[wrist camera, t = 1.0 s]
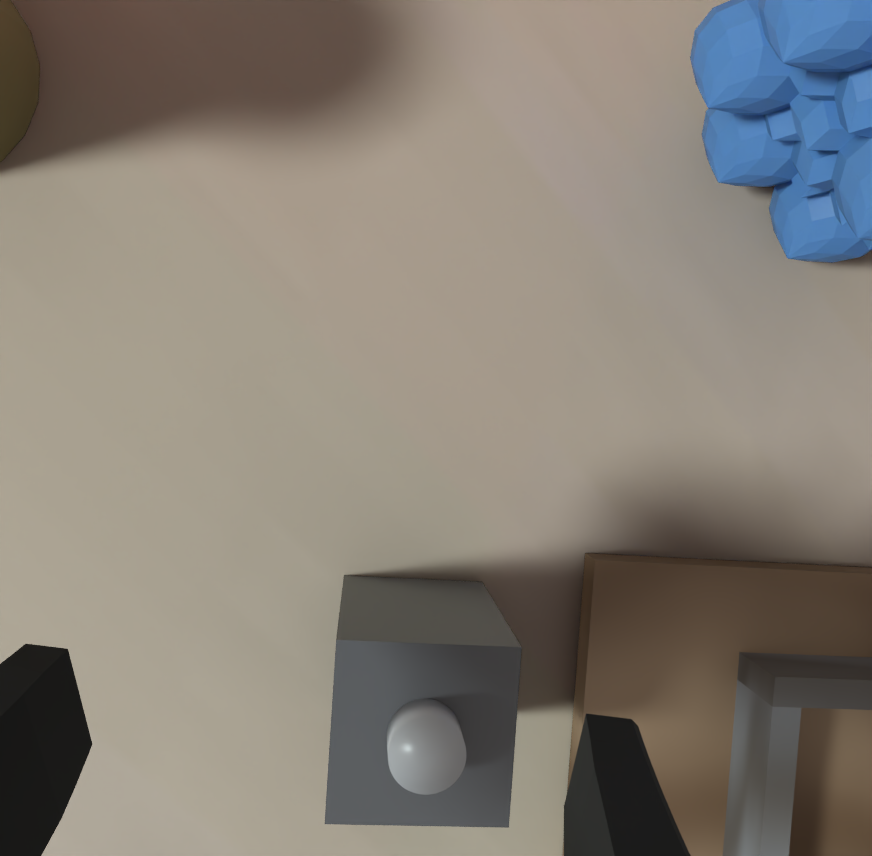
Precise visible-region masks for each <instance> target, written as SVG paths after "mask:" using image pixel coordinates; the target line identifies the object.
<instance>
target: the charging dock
mask: <svg viewBox="0 0 872 856" xmlns="http://www.w3.org/2000/svg"><path fill="white" fill-rule="evenodd" d="M586 713H587V714H595V715H603V716H611V717H619V718H627V719H632V720H633V721H634V722H635V723H636V724H637V725H638V727H639V730H640V733H641V736H642V739H643V742H644V745H645V747H646V750H647V753H648V756H649V758H650V761H651V764H652V766H653V769H654V771H655V774H656V777H657V779H658V782H659V784H660V787H661V789H662V791H663V794H664V796H665V799H666V801H667V803H668V806H669V808H670V810H671V813H672V815H673V817H674V820H675V822H676V824H677V827H678V829H679V831H680V833H681V836H682V838H683V840H684V842H685V845H686V847H687V849H688V851H689V853H690V855H691V856H872V568H871V567H851V566H831V565H811V564H791V563H771V562H751V561H732V560H712V559H692V558H672V557H652V556H632V555H612V554H593V553H585V563H584V576H583V590H582V603H581V616H580V629H579V643H578V656H577V669H576V683H575V696H574V709H573V723H572V736H571V749H570V763H569V776H568V788H569V784H570V779H571V775H572V771H573V766H574V762H575V758H576V754H577V749H578V745H579V741H580V736H581V732H582V728H583V724H584V719H585V715H586ZM567 792H568V789H567ZM563 856H564V842H563Z"/></svg>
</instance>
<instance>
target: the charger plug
mask: <svg viewBox="0 0 872 856" xmlns="http://www.w3.org/2000/svg"><path fill="white" fill-rule="evenodd" d="M521 651H522V647H521V645H520V643H519V642H518V640H517V639H516V637H515V635H514V634H513V632H512V630H511V629H510V627H509V625H508V624H507V622H506V621H505V619H504V617H503V616H502V614H501V612H500V611H499V609H498V607H497V606H496V604H495V603H494V601H493V599H492V598H491V596H490V594H489V593H488V591H487V589H486V588H485V586H484V585H483V583H482V582H478V581H456V580H435V579H413V578H392V577H370V576H349V575H344V580H343V588H342V597H341V605H340V613H339V622H338V630H337V639H336V653H335V669H334V685H333V701H332V717H331V732H330V748H329V764H328V780H327V796H326V812H325V824H350V825H405V826H460V827H509V816H510V802H511V789H512V775H513V761H514V747H515V733H516V720H517V706H518V692H519V678H520V664H521Z"/></svg>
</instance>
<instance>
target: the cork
mask: <svg viewBox="0 0 872 856" xmlns="http://www.w3.org/2000/svg"><path fill="white" fill-rule="evenodd" d="M39 76H40V65H39V61H38V57H37V54H36V50H35V46H34V42H33V39H32V35H31V32H30V30H29V28H28V27H27V25H26V24H25V22H24V21H23V19H22V17H21V16H20V14H19V13H18V11H17V10H16V8H15V6H14V5H13V3H12V2H11V0H0V162H2V161H3V159H4V158H5V157H6V156H7V155H8V154H9V153H10V151H11V150H12V149H13V148H14V147H15V146H16V145H17V143H18V142H19V141H20V140H21V139H22V138H23V136H24V135H25V133H26V131H27V128H28V126H29V124H30V121H31V119H32V116H33V114H34V111H35V109H36V106H37V104H38V94H39Z"/></svg>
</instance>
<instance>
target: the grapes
mask: <svg viewBox="0 0 872 856" xmlns="http://www.w3.org/2000/svg"><path fill="white" fill-rule="evenodd" d="M690 59H691V63H692V68H693V72H694V77H695V81H696V84H697V87H698V89H699V91H700V93H701V95H702V97H703V99H704V101H705V103H706V105H707V107H708V108H709V109H708V110H707V111H706V115H705V120H704V126H703V131H702V137H703V142H704V146H705V151H706V155H707V159H708V161H709V164H710V166H711V168H712V170H713V172H714V175H715V177H716V179H717V181H718V182H719V183H725V184H730V185H735V186H758V187H771V186H774V185H776V186H775V187H774V190H773V194H772V198H771V203H770V207H769V211H770V215H771V220H772V224H773V229H774V232H775V234H776V236H777V238H778V240H779V242H780V244H781V246H782V248H783V250H784V252H785V254H786V256H787V258H788V259H795V260H801V261H812V262H831V263H832V262H837V261H843V260H848V259H853V258H858V257H861V256H864V255H865V254H867V253H868V252H869V251H871V250H872V0H730V1H728V2H725V3H723V4H721V5H718V6H716V7H714V8H712V10H711V11H710V12H709V13H708V15H707V16H706V17H705V18H704V20H703V21H702V22H701V23H700V25H699V26H698V27H697V28H696V30H695V32H694V38H693V44H692V50H691V56H690Z"/></svg>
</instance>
